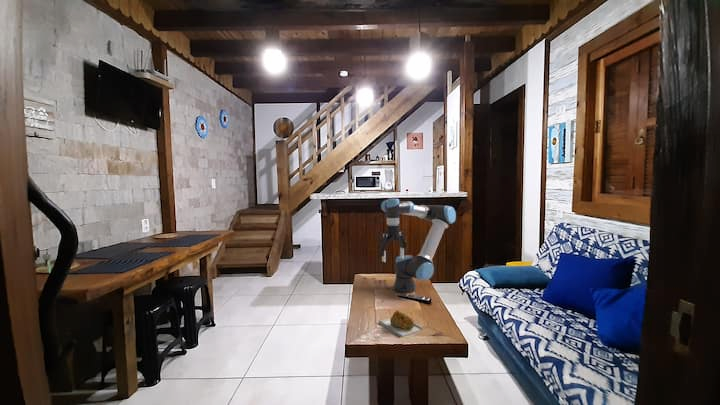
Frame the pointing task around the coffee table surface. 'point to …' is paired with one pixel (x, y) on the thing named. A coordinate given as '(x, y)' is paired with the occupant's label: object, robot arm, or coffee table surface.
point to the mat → (399, 330)
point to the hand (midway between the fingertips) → (393, 260)
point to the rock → (401, 320)
